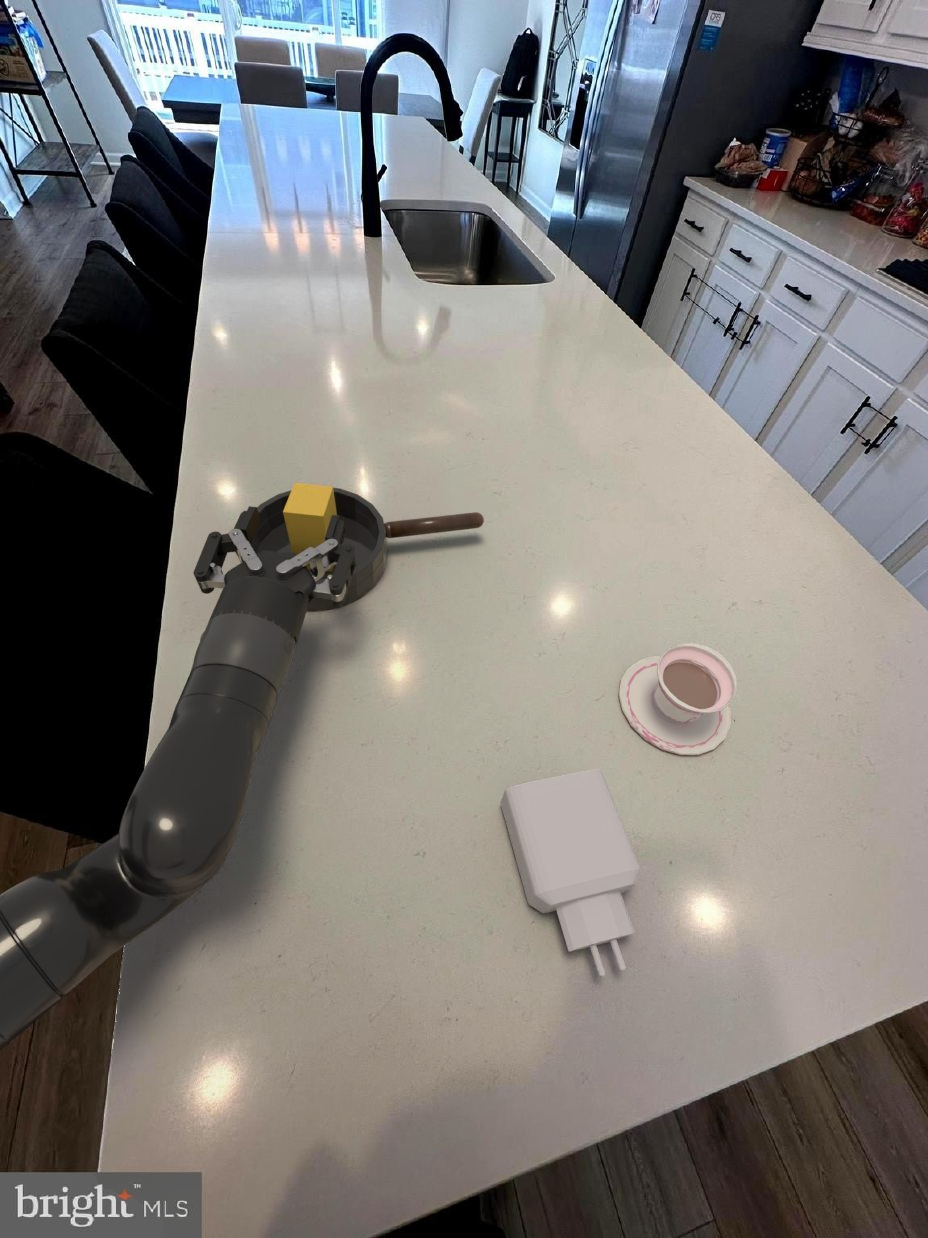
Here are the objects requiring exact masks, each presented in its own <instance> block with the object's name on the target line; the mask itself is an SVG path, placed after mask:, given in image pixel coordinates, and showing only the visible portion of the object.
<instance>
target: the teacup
mask: <svg viewBox="0 0 928 1238" xmlns="http://www.w3.org/2000/svg"><path fill="white" fill-rule="evenodd" d="M737 681H738V680H737V677H736V672H735V671H734V669H733V667H732V665H731V663H730V662H729V661H728V660H727V658H725V657H724V656H723V655H722V654H721V653H720V652H718V651H717V650H715V649H713V648H711V647H710V646H707V645H703V644H700V643H695V642H686V643H680V644H676V645H673V646H671V647H670V648H668V649H667V650H665V652H663V653H662V654H661V655H652V656H648V657H645V658H642V659H639V660H637V661H636V662H634V663H633V664H631V665H630V666H629V667H627V669H626V671H625V672H624V674H623V676H622V678H621V679H620V682H619V690H618V698H619V702H620V707H621V711H622V713H623V715H624V716H625V718H626V720H627V721H628V722H629V725H630V726H631V728H632V729H633V730H634V731H635V732H637V734H639V735H640V737H641V738H642V739H644V740H645V741H646V742H648V743H650V744H651V745H653V746H654V747H656V748H658V749H660V750H662V751H665V752H669V753H671V754H675V755H679V756H699V755H702V754H706V753H709V752H711V751H714V750H715V749H716V748H717V747H718V746H719V745H720V744H721V743H722V742H723V741H725V740H726V738H727V736H728V733H729V731H730V728H731V726H732V723H731V722H732V721H731V708H730V705H731V703H732V702H733V700H734V699H735V697H736V694H737V689H738V682H737Z"/></svg>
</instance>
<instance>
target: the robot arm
mask: <svg viewBox="0 0 928 1238" xmlns="http://www.w3.org/2000/svg"><path fill="white" fill-rule="evenodd" d="M257 507H258V506H252V505H251V506H250V505H249V506H248V507H247V510H243V511H242V512H241V513H239V516H238V519H237V521H236V523H235V525H234V527H233V529H231V530H229V531H228V533H223V534H222V533H221V532H220V531H212V532H209V533H208V535H207V537H206V540H205V543H204V545H203V547H202V550H201V553H200V555H199V557H198V559H197V562H196V564H195V567H194V570H193V573H192V574H193V576H194V578H195V580H196V583H197V584H198V587H199V590H200V591H201V593H203V594H206V595H207V594H212V593H213V592H214V591H215V589H221V592H220V595H219V597H218V598H217V601H216V604H215V606H214V608H213V611H212V613H211V615H210V617H209V620H208V622H207V623H206V626H205V629H204V631H203V632H202V634H201V635H200V639H199V643H198V645H197V648H196V650H195V654H194V657H193V662H192V666H191V669H190V671H189V675H188V677H187V679H186V682H185V683H184V686H183V688H182V691H181V693H180V695H179V698H178V700H177V702H176V704H175V707H174V710H173V712H172V716H171V719H170V723H169V726H168V728H167V730H166V731H165V733H164V734H163V736H162V738H161V740H160V741H159V743H158V744H157V746H156V748H155V750H154V751H153V753H152V755H151V756H150V758H149V759H148V762H147V764H145V767H144V769H143V770H142V772H141V774H140V776H139V778H138V780H137V781H136V784H135V786H134V788H133V790H132V793H131V795H130V796H129V799H128V802H127V804H126V806H125V809H124V811H123V814H122V818H121V821H120V825H119V829H118V832H117V833H116V834H115V835H113V836H112V837H111V838H108V839H107V840H106V841H104V842H103V843H101V844H100V845H98V846H96V847H95V848H93V849H92V850H90V851H89V852H87V853H85V854H84V855H82V856H81V857H79V858H78V859H77V860H75V861H73V862H72V863H70V864H68V865H67V866H65V867H63V868H61V869H58V870H49V871H44V872H40V873H37V874H34V875H33V876H30V877H28V878H26V879H24V880H23V881H21V882H19V883H17V884H16V885H14V886H12V887H11V888H8V889H7V890H6V891H3V892H2V893H1V894H0V1051H1V1050H3V1049H4V1048H5V1047H6V1046H8V1045H9V1044H10V1043H11V1042H12V1041H14V1040H15V1039H16V1038H17V1037H18V1036H19V1035H21V1034H22V1033H23V1032H24V1031H26V1030H27V1029H28V1028H29V1027H31V1026H32V1025H33V1024H34V1023H35V1022H36V1021H37V1020H39V1019H40V1018H41V1017H42V1016H44V1015H45V1014H47V1012H49V1011H50V1010H51V1009H52V1008H53V1007H54V1006H56V1005H57V1004H59V1003H60V1001H62V1000H63V997H67V996H68V995H69V994H70V993H71V992H73V990H75V989H76V988H77V987H78V986H79V985H80V984H81V983H82V982H83V981H85V979H87V978H88V977H89V976H90V975H91V974H92V973H93V972H95V970H96V969H98V967H99V966H100V965H102V964H103V963H104V962H105V961H106V960H107V959H108V958H110V957H111V956H112V955H113V954H115V953H116V952H118V951H120V950H121V949H122V948H123V947H125V946H126V945H129V944H130V943H131V942H132V941H133V940H135V939H136V938H138V937H139V936H141V935H142V934H144V933H145V932H147V930H148V931H149V930H150V929H151V928H152V927H153V926H155V925H156V924H158V923H159V922H161V921H162V920H163V919H164V918H166V917H167V916H169V915H170V914H171V913H173V912H174V911H175V910H176V909H178V908H179V907H180V906H182V905H183V904H184V903H186V902H187V901H188V900H189V899H191V898H192V897H193V896H195V894H197V893H198V892H199V891H201V889H203V888H204V887H205V886H206V885H208V883H209V882H210V881H212V880H213V878H215V876H216V875H217V874H218V873H219V871H220V870H221V868H222V867H223V866H224V863H225V861H226V860H227V857H228V855H229V853H230V851H231V849H232V847H233V844H234V842H235V839H236V836H237V833H238V829H239V826H240V823H241V819H242V815H243V812H244V808H245V804H246V801H247V796H248V792H249V789H250V785H251V780H252V775H253V772H254V766H255V761H256V757H257V753H258V752H259V750H260V748H261V746H262V743H263V741H264V739H265V737H266V734H267V731H268V728H269V725H270V722H271V718H272V715H273V712H274V709H275V706H276V702H277V700H278V699H277V698H278V697H279V693H280V691H281V689H282V687H283V686H284V683H285V681H286V679H287V677H288V674H289V670H290V667H291V663H292V661H293V657H294V654H295V650H296V648H297V643H298V640H299V638H300V634H301V630H302V627H303V624H304V621H305V617H306V614H307V612H308V611H307V607H308V605H309V604H310V602H311V601H313V600H314V599H315V597H316V598H322V599H329V600H331V601H332V604H333V605H334V606H337V608H339V607H338V606H341V607H343V606H342V605H343V604H344V602H345V599H346V596H347V593H348V590H349V587H350V584H351V581H352V578H353V575H354V572H355V569H356V561H355V548H354V547H353V546H352V545H346V546H343V545H342V544H343V540H344V537H345V527H344V522H343V521H341V520H340V516H339V515H332V516H331V519H330V523H329V526H328V529H327V532H326V536H325V542H323V543H322V544H320V545H319V546H317V547H316V548H313V547H309V548H308V549H306V550H304V551H303V552H301V553H300V554H298V555H296V554H295V553H276V552H273V551H267V550H263V552H261V553H257V554H256V553H255V552H254V550H253V548H252V547H251V543H252V541H253V538H254V536H255V534H256V531H257V529H258V527H259V524H260V516H259V512H258V509H257ZM228 553H235V555H236V557H237V559H238V560H239V562H240V563H239V564H237V565H235V566H233V567H232V568H230V570H228V571H227V572H226V573H225V574H224V572H223V570H222V569H223V567H224V563H225V560H226V558H227V555H228ZM307 564H310V569H309V570H308V568H307V567H306V565H307ZM336 564H337V565H336ZM334 565H336V567H335V570H334V573H333V576H332V575H328V576H327V578H326V579H325V581H324V582H323V583H321V584H316V581H317V580H319V579H320V578H322V577H323V576H324V574H325V572H326V571H327V570H328V569H330V568H331V567H333V566H334Z"/></svg>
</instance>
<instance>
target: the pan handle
mask: <svg viewBox="0 0 928 1238" xmlns="http://www.w3.org/2000/svg"><path fill="white" fill-rule="evenodd" d="M484 522H485V517H484V516H483V514H481V513H480V512H477V511H476V512H475V511H474V512H466V513H456V514H448V515H438V516H437V515H436V516H429V517H419V518H411V519H410V518H409V519H402V520H400V519H399V520H392V521H386V522H384V525H385V529H386V539H395V538H405V537H411V536H413V537H414V536H422V535H430V534H439V533H448V532H457V531H464V530H465V531H466V530H473V529H479V528H481V527H482V526H483V525H484Z"/></svg>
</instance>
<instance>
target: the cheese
mask: <svg viewBox="0 0 928 1238" xmlns="http://www.w3.org/2000/svg"><path fill="white" fill-rule="evenodd" d="M333 488H334V486H329V485H321V484H320V485H319V484H311V483H310V484H309V483H304V482H303V483H301V482H294V483H293V486H292V488H291V490H292V491H291V493H290V496H289V498H288V500H287V503H286V505H285V508H284V510H283V514H284V519H285V523H286V527H287V531H288V536H289V540H290V544H291V549H292V553H295V554H296V555H298V554H300V553H301V552H303V551H304V550H306V549H308V548H309V547H313V548H316V547H317V546H319V545H320V544H322V543H323V542H325V536H326V532H327V529H328V526H329V523H330V519H331V516H332V515H337V512H336V505H335V497H334V490H333ZM306 567H307V568H308V570H309V569H310V564H307V565H306ZM333 568H334V566H333V567H331V568H330V569H328V570H327V571H326V572H332V571H333Z"/></svg>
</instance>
